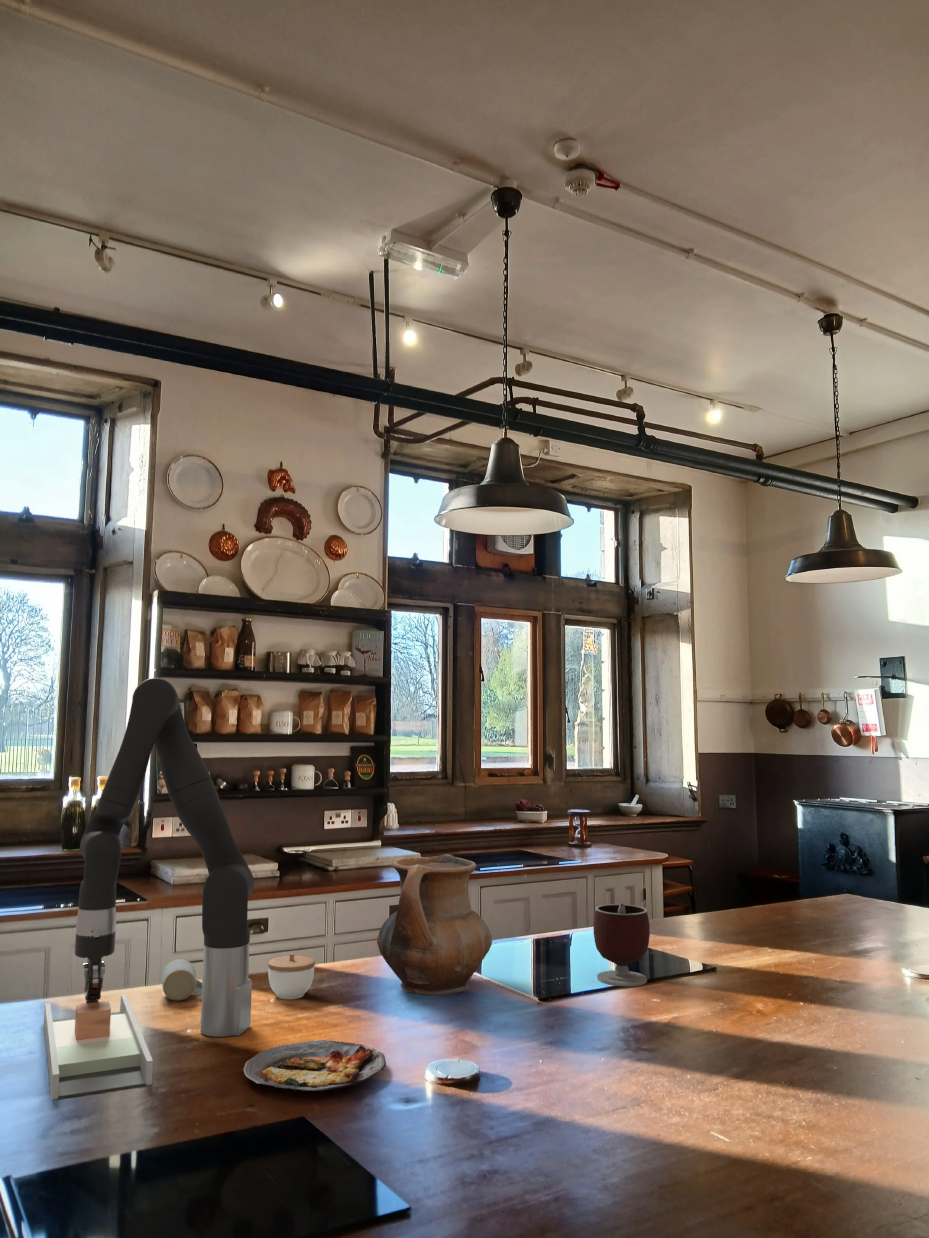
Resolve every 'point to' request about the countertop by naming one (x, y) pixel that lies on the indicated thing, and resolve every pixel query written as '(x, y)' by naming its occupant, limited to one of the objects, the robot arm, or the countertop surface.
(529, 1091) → the countertop surface
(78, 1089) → the trap channel
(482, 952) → the jug
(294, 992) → the lidded jar
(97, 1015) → the block
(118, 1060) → the pad
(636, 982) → the mate gourd
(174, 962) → the ceramic mug
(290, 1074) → the food plate
